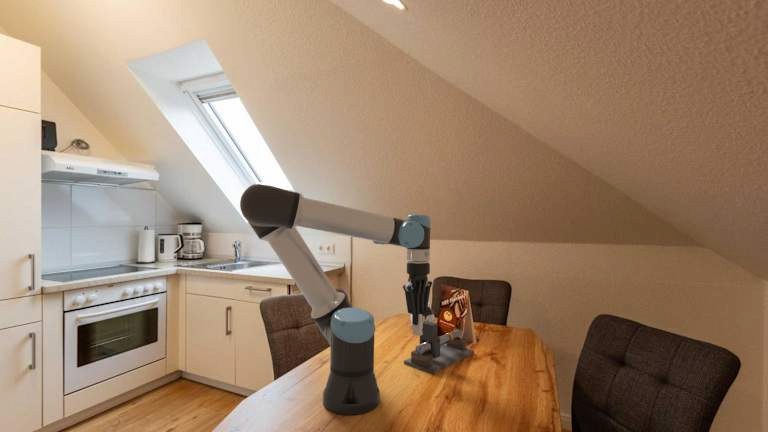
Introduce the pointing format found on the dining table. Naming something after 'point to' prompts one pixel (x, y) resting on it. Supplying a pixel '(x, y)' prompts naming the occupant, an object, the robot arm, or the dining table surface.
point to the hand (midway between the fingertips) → (417, 334)
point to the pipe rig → (448, 356)
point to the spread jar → (426, 316)
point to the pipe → (443, 340)
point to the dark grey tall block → (431, 338)
